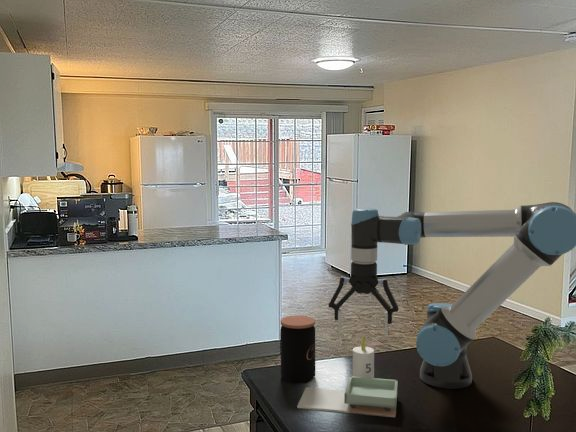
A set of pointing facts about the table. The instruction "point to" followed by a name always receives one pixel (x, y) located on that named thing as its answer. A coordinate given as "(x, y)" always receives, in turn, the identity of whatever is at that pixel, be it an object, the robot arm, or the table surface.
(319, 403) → the board
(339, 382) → the table surface
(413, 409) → the table surface
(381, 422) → the table surface
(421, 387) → the table surface
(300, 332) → the coffee jar
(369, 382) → the mint green tray
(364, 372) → the candle
